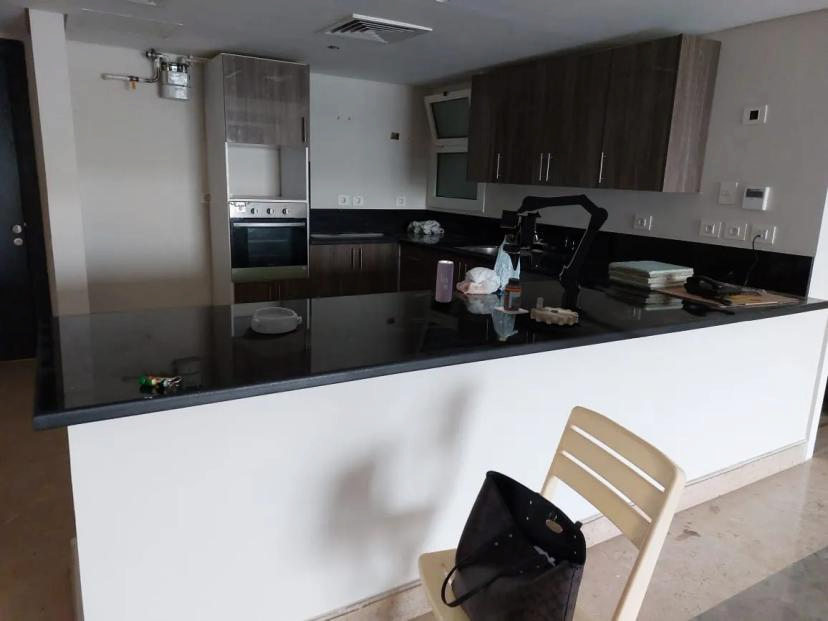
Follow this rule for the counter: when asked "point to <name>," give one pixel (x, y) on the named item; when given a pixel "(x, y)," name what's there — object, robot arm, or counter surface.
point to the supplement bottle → (512, 295)
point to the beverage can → (444, 281)
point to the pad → (511, 311)
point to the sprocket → (553, 314)
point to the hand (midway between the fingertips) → (523, 270)
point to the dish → (274, 320)
